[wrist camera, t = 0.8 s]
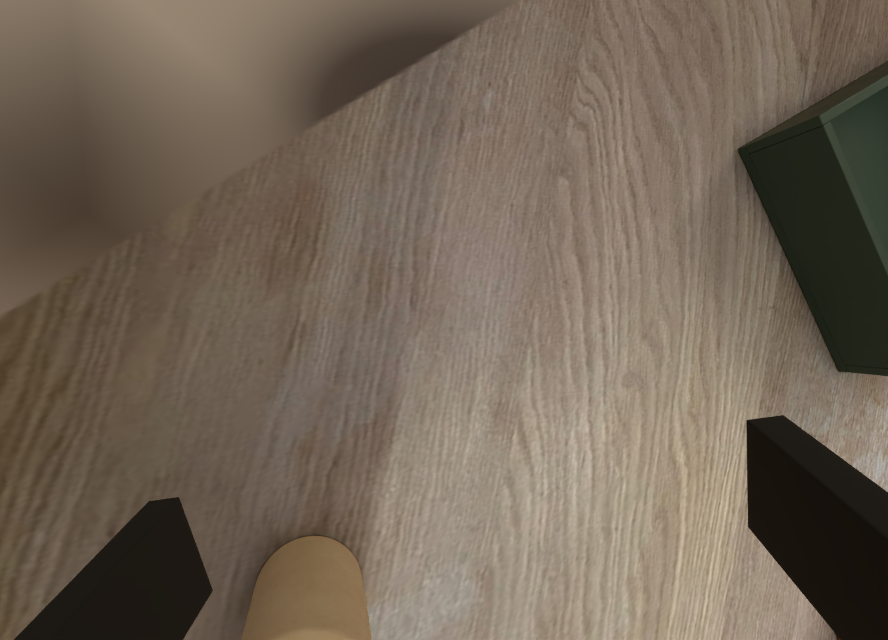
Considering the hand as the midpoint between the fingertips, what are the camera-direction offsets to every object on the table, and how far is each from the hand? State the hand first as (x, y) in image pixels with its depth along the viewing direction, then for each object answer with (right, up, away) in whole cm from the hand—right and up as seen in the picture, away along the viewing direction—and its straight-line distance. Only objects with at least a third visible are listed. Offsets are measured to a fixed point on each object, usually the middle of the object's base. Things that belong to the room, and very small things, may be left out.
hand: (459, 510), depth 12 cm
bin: (+30, +13, +24) cm, 41 cm away
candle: (-8, -10, +15) cm, 20 cm away
